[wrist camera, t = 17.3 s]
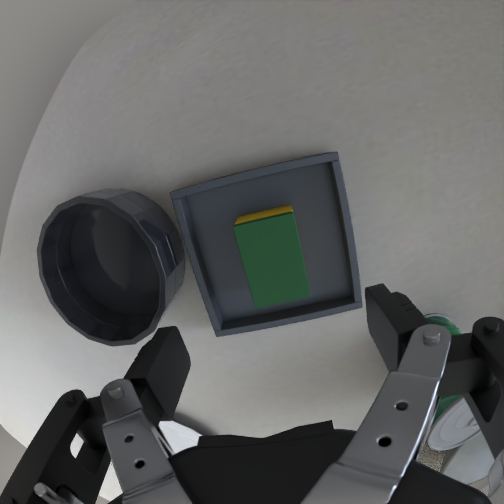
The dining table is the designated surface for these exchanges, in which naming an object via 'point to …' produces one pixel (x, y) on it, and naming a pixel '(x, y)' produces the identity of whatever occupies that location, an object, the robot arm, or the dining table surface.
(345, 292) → the sponge dish
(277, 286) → the sponge
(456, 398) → the canned tomato
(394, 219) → the dining table surface
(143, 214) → the black bowl
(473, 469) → the bowl
